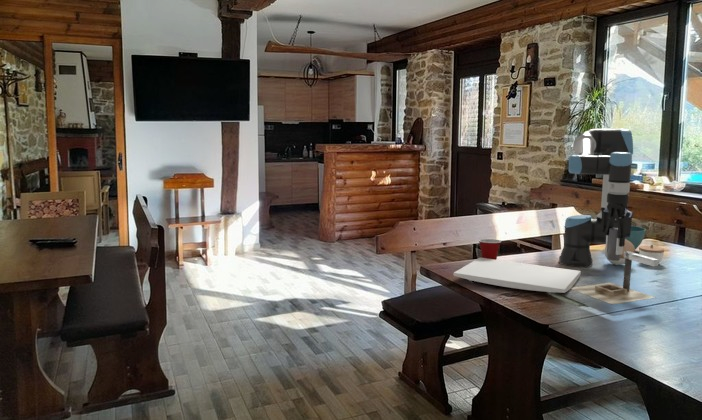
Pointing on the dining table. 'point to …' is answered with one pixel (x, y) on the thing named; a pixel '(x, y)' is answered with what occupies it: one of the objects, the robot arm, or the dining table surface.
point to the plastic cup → (489, 248)
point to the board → (519, 275)
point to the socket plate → (614, 290)
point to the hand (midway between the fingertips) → (613, 252)
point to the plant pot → (636, 235)
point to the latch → (641, 258)
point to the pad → (568, 300)
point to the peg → (612, 244)
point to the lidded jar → (652, 252)
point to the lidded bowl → (626, 247)
